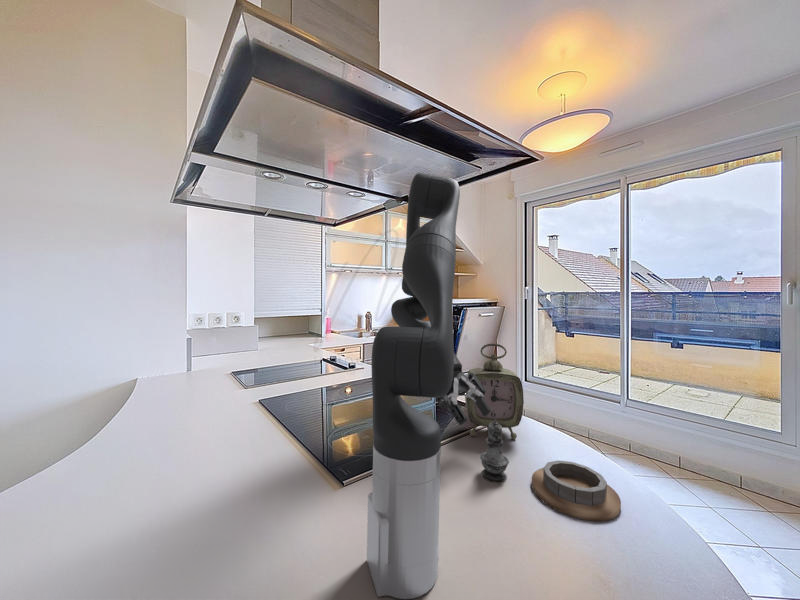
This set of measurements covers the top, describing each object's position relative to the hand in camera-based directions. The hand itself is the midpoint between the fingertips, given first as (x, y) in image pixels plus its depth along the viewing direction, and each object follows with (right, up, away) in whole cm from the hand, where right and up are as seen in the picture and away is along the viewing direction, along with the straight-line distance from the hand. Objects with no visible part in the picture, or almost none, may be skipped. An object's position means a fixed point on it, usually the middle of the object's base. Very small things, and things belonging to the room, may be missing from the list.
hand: (476, 418), depth 71 cm
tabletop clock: (+8, -11, +17) cm, 22 cm away
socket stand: (+16, -11, -9) cm, 22 cm away
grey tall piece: (+3, -11, -4) cm, 12 cm away
